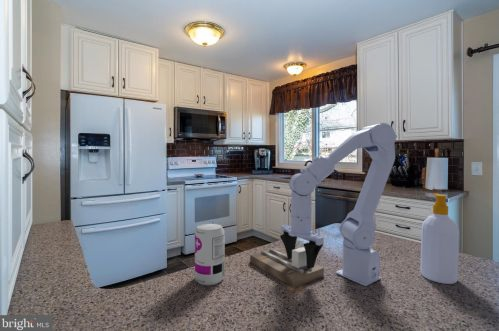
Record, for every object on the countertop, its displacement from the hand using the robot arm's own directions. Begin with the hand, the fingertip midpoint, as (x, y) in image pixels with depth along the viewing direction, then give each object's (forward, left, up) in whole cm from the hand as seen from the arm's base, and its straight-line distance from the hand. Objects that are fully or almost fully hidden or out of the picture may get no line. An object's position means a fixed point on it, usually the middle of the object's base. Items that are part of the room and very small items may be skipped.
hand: (300, 262), depth 74 cm
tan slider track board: (+6, 0, -4) cm, 8 cm away
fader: (0, 0, -1) cm, 1 cm away
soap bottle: (-22, -33, -4) cm, 40 cm away
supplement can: (+14, +22, -4) cm, 26 cm away
